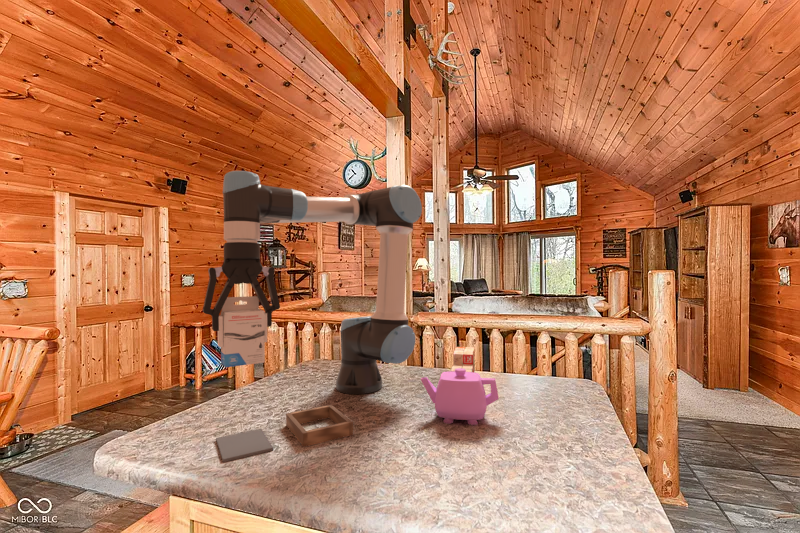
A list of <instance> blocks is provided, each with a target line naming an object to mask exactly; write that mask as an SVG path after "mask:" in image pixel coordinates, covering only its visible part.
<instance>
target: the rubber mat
mask: <svg viewBox="0 0 800 533" xmlns="http://www.w3.org/2000/svg"><path fill="white" fill-rule="evenodd" d="M215 442H216V444H217V447H218V450H219V454H220V457H221V460H222V463H227V462H230V461H234V460H238V459H239V460H240V459H242V458H246V457H247V458H248V457H252V456H255V455H259V454H264V453H267V452H271V451H274V446H273V445H272V443H271V441H270V440H269V438H268V436H267V435H266V434H265V432H264V430H263V429H262V428H257V429H252V430H247V431H244V432H238V433H234V434H229V435H223V436H219V437H216V438H215Z"/></svg>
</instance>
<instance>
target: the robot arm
mask: <svg viewBox="0 0 800 533" xmlns="http://www.w3.org/2000/svg"><path fill="white" fill-rule="evenodd" d="M222 184H223V185H222V198H223V240H224V241H226V242H225V243H224V244H223V263H222V264H221V266H219V267H218V266H217V267H209V268H208V269H207V270H208V271H207V272H208V278H209V279H208V284H207V287H206V288H207V289H206V293H205V298H204V301H203V302H204V303H203V306H202V312H203V313H204V314H205V315H208V316H209V315H210V316H211V328H212V331H213V332H217V346H218V347H219V348H221V347H223V316H222V315H221V312H222V307H223V305H224V303H225V301H226V299H227V297H229V295H230V293H231V291H232V288H233V287H234V285H241V284H246V285H247V284H248V285H249V284H250V286H251V287H252V288H253V290H254V292H255V296H257V297H258V298H259V303H260V305H261V306H262V308H263V311H264V314H265V343H268V327H272V325H273V322H272V321H273V320H272V319H273V318H272V317H273V312H274V311H277V310H279V309H280V308H281V305H280V300H279V299H280V298H279V296H278V291H277V286H276V282H275V270H276V269H275V268H274V267H273V266H271V267H270V266H269V267H268V266H263V265H262V263H261V245H260V244H259V243H258V242H259V241H260V240H261V234H260V233H261V230H260V228H261V226H260V225H261V224H287V223H288V224H289V223H290V224H291V223H293V224H294V223H330V222H331V223H334V222H337V223H338V222H339V223H341V222H343V223H345V224H346V225H347V226H348V225H357V226H358V225H359V226H370V227H375V230H376V231H377V232H378V233H379V248H378V249H379V251H378V252H379V253H378V254H379V255H378V269H377V271H378V272H377V286H376V289H377V290H376V301H375V302H376V305H375V312H373V314H372V315H370V316H360V317H351V318H345V319H343V320H341V323H340V357H341V358H340V359H341V360H340V362H341V363H340V366H339V370H338V374H337V376H336V381H335V389H336V391H338V392H339V393H343V394H347V395H348V394H349V395H364V394H370V393H375V392H377V391H380V390H381V389H382V388H383V379H382V375H381V372H380V369H379V367H378V364H377V363H378V361H380V362H383V363H386V364H394V365H397V364H398V365H399V364H402V363H403V362H405V361H407V360H408V359H409V357H410V356H411V355H412V354H413V351H414V349H415V345H416V334H415V332H414V329H413V327H411V326H409V317H408V316H407V315H406V314H405V296H406V278H407V277H406V276H407V275H406V274H407V256H408V238H409V237H408V236H409V235H410V234H411V233H413V231H414V223H416V222H418V220H419V219H420V218H421V217H422V213H423V212H422V211H423V208H422V206H423V205H422V201H421V198H420V196H419V195H418V193H417V191H416V190H415V189H414V188H413V187H412V186H409V185H406V184H402V185H397V184H396V185H392V186H388V187H384V188H380V189H374V190H370V191H366V192H362V193H358V194H357V193H356V194H346V195H344V196H343V197H340V196H338V197H337V196H333V197H331V196H307V195H306V193H304V192H303V191H301V190H297V189H293V188H284V187H279V186H273V185H272V186H271V185H266V184H261V180H260V176H259V175H258V174H257V173H254V172H252V171H246V170H232V171H228V172H226V173H225V174H224V176H223V183H222ZM221 272H222V273H223V274H224V275H225V277H226V278H227V280H226V281H225V284H224V287H223V289H222V291H221V292H220V295H219V297H218V299H217V300H216V302H215V304H214V306H213V308H211V307H212V303H213V299H214V293H215V290H216V285H217V284H216V283H217V279H218V278H219V277H220V276H221ZM262 272H263V276H264V277H265V279H266V284H267V289H268V292H269V298H270V302H271V305H270V302H269V300H268V299H267V297H266V294H265V293H264V291H263V289H262V287H261V284H260V282H259V280H258V276H260V274H261V273H262Z"/></svg>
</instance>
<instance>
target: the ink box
mask: <svg viewBox="0 0 800 533" xmlns="http://www.w3.org/2000/svg"><path fill="white" fill-rule="evenodd" d="M239 302H246V303H245V304H244V303H243V304H235V303H239ZM264 312H265V310H264V309H260V300H259V298H258V297H257V295H254V296H253V295H252V296H249V295H248V296H228V297H227V299H226V301H225V303H224V305H223V307H222V309H221V311H220V315H222V316H223V347H220V364H221V365H222V366H223V367H224V368H231V367H232V368H233V367H238V366H239V367H240V366H248V365H256V364H264V363H265V362H266V361H265V360H266V359H265V356H266V354H265V353H266V352H265V344H266V342H265V314H264Z"/></svg>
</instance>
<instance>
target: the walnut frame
mask: <svg viewBox="0 0 800 533" xmlns="http://www.w3.org/2000/svg"><path fill="white" fill-rule="evenodd" d="M327 419H329V420H331V421H332V422H333V423H334V424H330V425H327V426H322V427H318V428H312V429H309V430H306V429H305V428H304V427H303V425H302V423H304V424H308V423H311V422H312V421H313V422H317V421H321V420H327ZM307 422H308V423H307ZM285 426H286V428H289V429H290V430H289V429H288V430H289V431H290V432H291V434H292V433H293V434H294V435H295V436H294V435H293V434H292V435H293V436H294V438H295V439H296V438H297V439H296V440H297V442H299V444H300V443H301V444H300V445H301V446H302V448H305V447H309V446H312V445H317V444H321V443H326V442H329V441H335V440H338V439H342V438H345V437H350V436H353V435H354V421H352V420H351V419H350V418H348V417H347V416H346V415H345V413H344V414H343V413H342V412H341V411H340V410H339V409H337V407H335V406H333V405H332V404H328V405H323V406H317V407H313V408H308V409H303V410H298V411H292V412H288V413H285Z"/></svg>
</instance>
